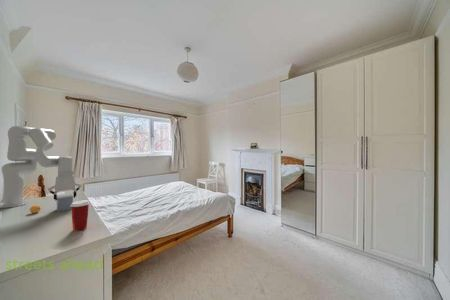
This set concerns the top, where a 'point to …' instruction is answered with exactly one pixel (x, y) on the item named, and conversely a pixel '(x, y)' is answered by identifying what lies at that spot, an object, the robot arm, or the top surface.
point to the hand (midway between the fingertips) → (65, 198)
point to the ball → (35, 209)
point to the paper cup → (79, 214)
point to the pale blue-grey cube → (64, 202)
